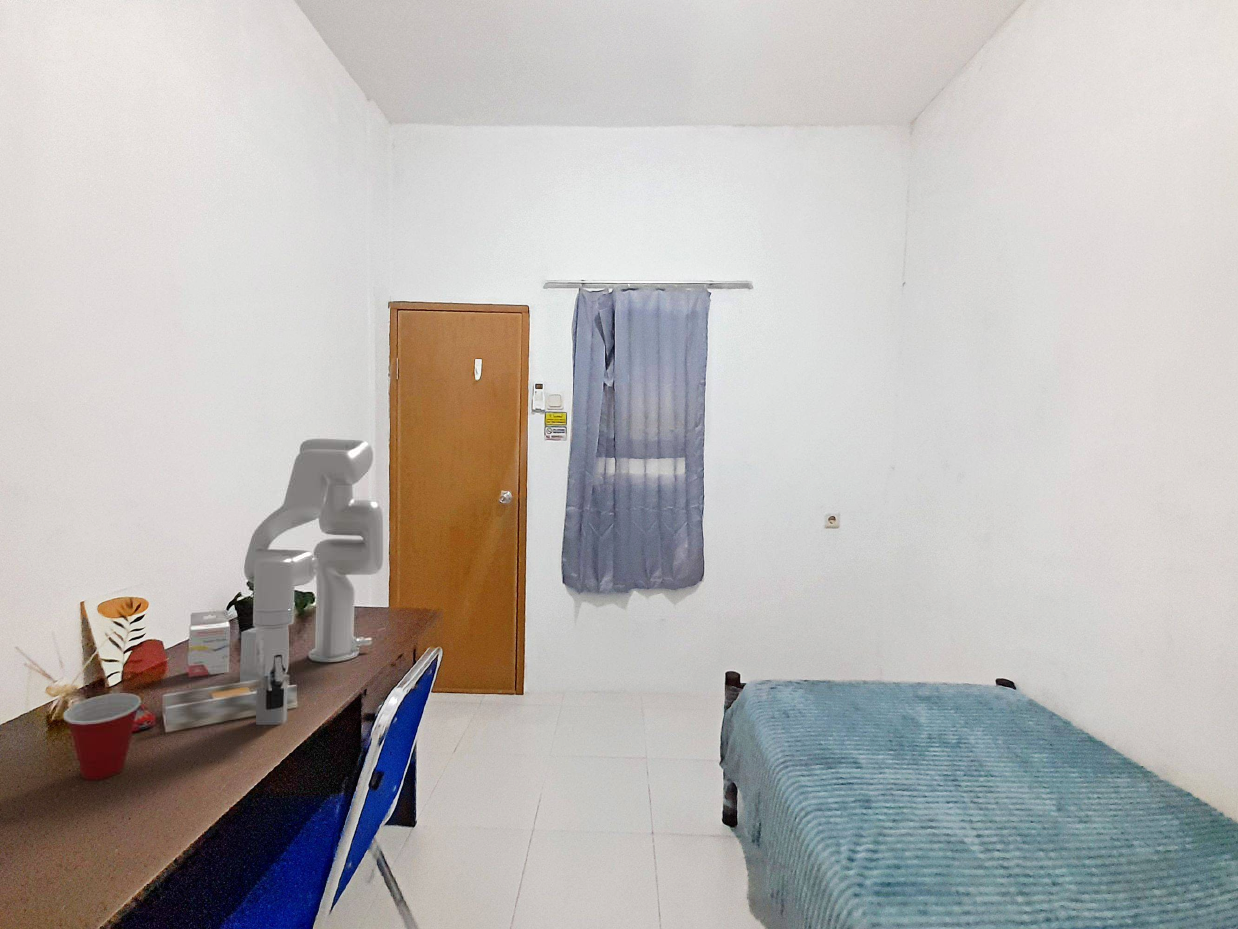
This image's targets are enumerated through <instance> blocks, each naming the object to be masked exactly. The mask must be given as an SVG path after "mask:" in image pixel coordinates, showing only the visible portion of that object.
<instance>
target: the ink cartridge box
mask: <svg viewBox="0 0 1238 929" xmlns="http://www.w3.org/2000/svg"><path fill="white" fill-rule="evenodd" d="M208 616H215V617H210V618H204V617H208ZM188 634H189V635H188V638H189V639H188V660H187V661H188V662H187V663H188V664H187V667H188V668H187V671H188V678H191V677H193V678H194V677H200V676H201V677H202V676H210V675H219V674H226V673H229V671H230V670H229V668H230V667H229V666H230V645H231V644H230V638H231V637H230V635H231V627H230V621H229V611H228V610H227V609H223V610H210V611H209V610H208V611H201V612H199V611H198V612H191V614H190V625H189V632H188Z"/></svg>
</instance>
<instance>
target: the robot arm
mask: <svg viewBox="0 0 1238 929" xmlns="http://www.w3.org/2000/svg"><path fill="white" fill-rule="evenodd" d="M373 459H374V452H373V448H372V446H371V445H370V443H368V442H367V441H365V440H358V439H340V438H339V439H337V438H312V439H311V438H310V439H305V440H304V441H302V443H301V444H300V446H299V453H298V454H297V456H296V458H295V459H294V463H293V466H292V470H291V474H290V478H289V481H288V485H287V489H286V492H285V496H284V500H283V503H282V505H281V506H280V507H279V508H277V509H276V510H274V511H273V512H271V513H270V514H269V515H268V516H267V517H266V518H265V519H263V521H261V523H260V524H259V525H258V526H257V527H256V529H255V530H254V531H253V534H252V536H251V538H250V542H249V545H248V548H247V551H246V555H245V558H244V564H243V571H244V573H243V574H244V577H245V579H246V580H247V581H248V582H250V583H251V584H253V603H252V604H253V609H252V611H253V612H252V613H253V614H252V619H253V621H252V626H253V628H255V627H257V630H256V642H255V658H254V665H255V668H256V669H257V671H258V673H259V674H260V675H261V676H262V677H265V676H267V677H268V690H266V709H267V710H271V709H276V708H281V707H283V706H284V680H283V674H285V673H287V672H288V671H289V660H290V659H289V658H290V653H289V652H290V641H289V640H290V639H289V638H290V634H289V626H291V625H293V624H294V621H295V619H294V618H295V587H299V586H304V585H307V584H309V583H311V582H312V581H313V580H314V579H315V581H316V598H315V603H316V604H315V636H314V637H315V638H314V639H315V641H314V643H315V644H314V648H313V649H311V650H310V651H308V658H309V660H311V661H313V662H317V663H318V662H320V663H336V662H337V663H338V662H344V661H348V660H352V659H354V658H356V657H358V655H359V654H360V647H362V646H370V645H372V642H373V641H372V637H364V636H360V637H356V636H355V635H354V631H355V630H354V627H355V596H356V595H355V594H356V593H355V588H354V585H353V583H352V582H351V580H350V579H349V578H348V576H349V575H351V576H352V575H353V576H357V575H358V576H369V575H370V576H372V575H375V574H376V575H377V574H378V573H379V572H380V571H381V570H382V567H383V563H384V520H383V512H382V511H383V510H382V507H381V506H380V504H378V502H376V501H373V500H369V499H367V500H366V499H365V500H364V499H363V500H362V499H354V496H353V495H354V494H353V485H356V484H357V483H358V482H359V481H360V480H361V479H362V478H363V477H364V476H365V475H366V474H367V473H368V472H369V470H370V469H371V467H372V464H373ZM317 519H318V525H319V528H320V529H319V530H320V531H321V532H322V533H324V534H326V535H332V536H350V537H351V536H352V537H353V536H354V537H355V536H357V537H361V538H362V539H361V538H358V539H357V538H328V539H323V540H322V541H320V542H318V543H317V544H316V545H315V547H314V549H313V552H312V551H309V550H302V549H301V550H300V549H270V546H271V545H272V543H273V541H274V540H275V539H276V538H277V537H279V536H281V535H282V534H284V533H286V532H287V531H290V530H292V529H295V528H297V527H300V526H303V525H305V524H308V523H311V522H313V521H315V520H317ZM272 677H275V679H274V680H273V681H272V679H271V678H272Z"/></svg>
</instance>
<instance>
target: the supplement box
mask: <svg viewBox="0 0 1238 929" xmlns="http://www.w3.org/2000/svg"><path fill="white" fill-rule="evenodd" d="M256 630H257V627H252V628H249V629H247V630H244V631H241V636H240V637H241V639H240V672H239V674H240V676H239V682H245V681H251V680H258V679H261V675H260V674H259V673H258V671H257V669H256V668H255V665H254V658H255V642H256ZM283 675H288V674H287V673H285V674H283Z"/></svg>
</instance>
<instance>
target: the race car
mask: <svg viewBox="0 0 1238 929" xmlns="http://www.w3.org/2000/svg"><path fill="white" fill-rule="evenodd" d="M147 709H148V706H145V707H144V706H143V705H141V704H140V705H139V707H138V709H137V713H136V717H135V720H134V724H133V729H132V733H133V732H137V731H141V730H142V731H143V730H145V729H149V728H151V727H153V726H154V725H155V724H156V717H155V715H154V714H152V713H151V712H150V711H147Z"/></svg>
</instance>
